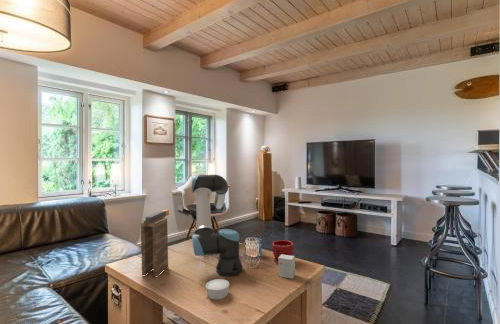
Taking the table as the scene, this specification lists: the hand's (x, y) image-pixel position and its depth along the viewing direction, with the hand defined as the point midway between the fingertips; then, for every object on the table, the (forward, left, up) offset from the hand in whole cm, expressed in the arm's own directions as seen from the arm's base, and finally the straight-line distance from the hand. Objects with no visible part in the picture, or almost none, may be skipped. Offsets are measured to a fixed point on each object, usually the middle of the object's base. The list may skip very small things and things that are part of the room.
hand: (188, 206), depth 177 cm
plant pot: (-63, +3, -33) cm, 71 cm away
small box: (-66, +22, -33) cm, 77 cm away
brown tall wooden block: (+9, +27, -33) cm, 43 cm away
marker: (+9, +23, -3) cm, 25 cm away
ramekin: (-34, +47, -33) cm, 66 cm away
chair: (-45, -5, -33) cm, 56 cm away
